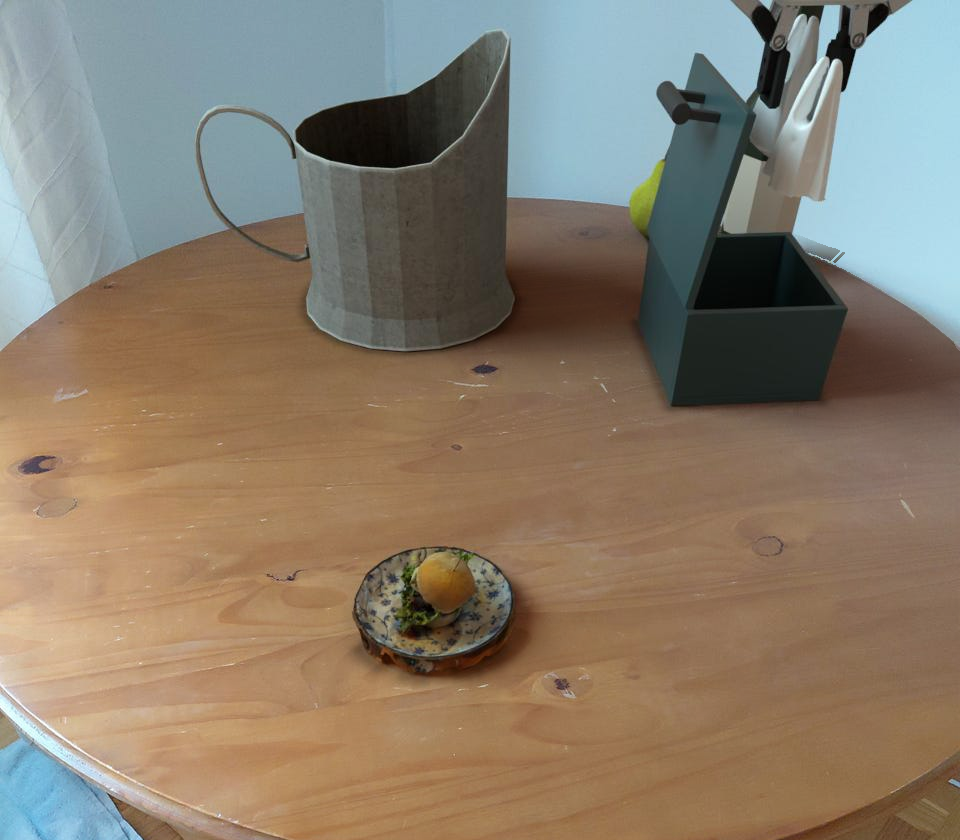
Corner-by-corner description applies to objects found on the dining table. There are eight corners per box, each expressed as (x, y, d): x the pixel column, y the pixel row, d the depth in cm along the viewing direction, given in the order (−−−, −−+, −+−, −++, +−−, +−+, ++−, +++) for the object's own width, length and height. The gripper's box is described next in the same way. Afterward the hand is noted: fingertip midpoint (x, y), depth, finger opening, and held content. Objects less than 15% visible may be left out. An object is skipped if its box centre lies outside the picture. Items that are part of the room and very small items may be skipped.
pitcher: (532, 341, 94) (545, 68, 75) (226, 366, 90) (162, 86, 72) (494, 248, 109) (497, 3, 91) (232, 266, 106) (180, 15, 87)
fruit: (640, 252, 109) (654, 145, 100) (616, 230, 113) (628, 125, 104) (690, 244, 110) (709, 138, 101) (665, 222, 115) (680, 119, 106)
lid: (703, 53, 78) (650, 45, 78) (757, 115, 67) (695, 106, 66) (653, 231, 89) (606, 225, 89) (692, 309, 78) (639, 304, 77)
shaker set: (738, 151, 80) (767, 3, 72) (784, 150, 80) (818, 2, 72) (776, 203, 72) (813, 42, 64) (827, 202, 72) (870, 41, 64)
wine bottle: (771, 284, 103) (850, -37, 81) (703, 267, 106) (762, -47, 84) (793, 257, 108) (874, -53, 86) (728, 242, 111) (790, -61, 89)
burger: (467, 544, 71) (466, 467, 66) (545, 638, 64) (552, 560, 59) (329, 595, 67) (315, 517, 62) (396, 700, 60) (388, 623, 55)
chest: (768, 318, 97) (790, 231, 90) (819, 400, 86) (848, 308, 79) (637, 322, 96) (649, 235, 90) (670, 406, 85) (687, 314, 78)
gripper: (762, -203, 56) (707, 121, 69) (1019, -205, 57) (916, 115, 70) (729, -212, 61) (684, 91, 74) (966, -214, 62) (879, 86, 75)
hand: (797, 100), depth 72 cm, fingers closed on shaker set, 4 cm apart
